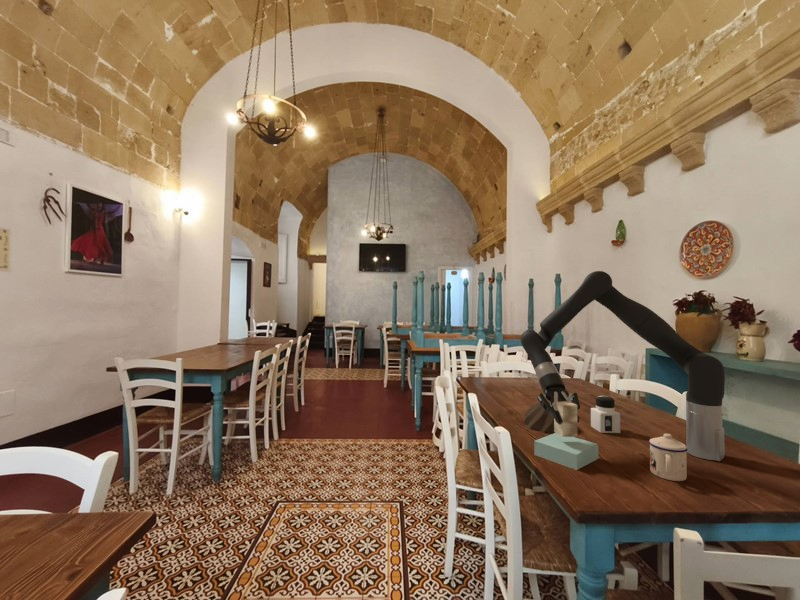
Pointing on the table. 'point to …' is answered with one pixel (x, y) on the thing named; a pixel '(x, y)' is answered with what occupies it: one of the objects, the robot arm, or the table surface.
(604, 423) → the container
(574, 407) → the birch block
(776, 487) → the table surface
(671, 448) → the teacup with lid
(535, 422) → the decorative dome
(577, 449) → the teal block
